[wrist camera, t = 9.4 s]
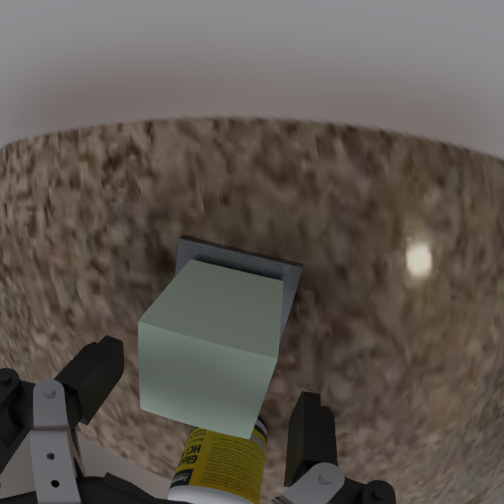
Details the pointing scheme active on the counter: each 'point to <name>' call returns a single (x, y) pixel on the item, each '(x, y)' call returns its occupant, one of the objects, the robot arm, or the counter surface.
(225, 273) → the pale green block
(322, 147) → the counter surface
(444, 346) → the counter surface
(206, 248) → the post on square base
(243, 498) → the pill bottle
